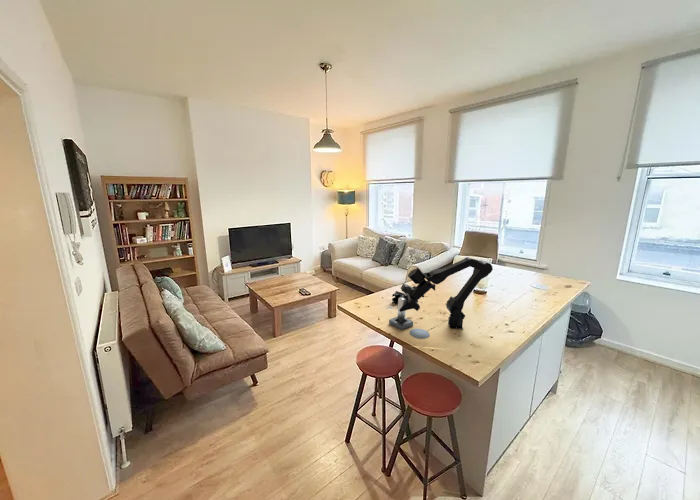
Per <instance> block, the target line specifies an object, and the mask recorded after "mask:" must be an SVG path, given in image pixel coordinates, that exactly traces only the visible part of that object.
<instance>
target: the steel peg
mask: <svg viewBox="0 0 700 500" xmlns="http://www.w3.org/2000/svg"><path fill="white" fill-rule="evenodd" d="M405 302H406V298H403V297H400V298H398V305H397V316H396V317H397V321H398V322H401V323H403V322H405V318H406V310H405V311H402V312H400V311H399V310H400V308H401V307H402V306H403V305H404V304H405Z"/></svg>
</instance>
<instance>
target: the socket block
mask: <svg viewBox="0 0 700 500" xmlns="http://www.w3.org/2000/svg"><path fill="white" fill-rule="evenodd" d="M397 317H398V316H395V317H393V318H390V319H388V324H389V325H390V326H392V327H394V328H396V329H397V330H399V331H403V330H406V329H408V328H411V327H413V326H414V321H413V320H411V319H409V318H407V317H405V322H403V323H401V322H398V321H397Z"/></svg>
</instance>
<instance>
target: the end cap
mask: <svg viewBox="0 0 700 500" xmlns="http://www.w3.org/2000/svg"><path fill="white" fill-rule="evenodd" d="M403 293H404V292H402V291H398V290H396V291H395V292H394V293H392V294H391V295H392V297H393V298H391V300H392V304H394V303H395V305H397V306H398V298H400V297H403ZM404 294H405V293H404Z"/></svg>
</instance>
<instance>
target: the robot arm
mask: <svg viewBox="0 0 700 500" xmlns="http://www.w3.org/2000/svg"><path fill="white" fill-rule="evenodd" d="M470 267H471V268H473V270H472V271H473V272H472V274H471V276H470V277H469V279H467V281H466V282H465V284H463V286H462V288H461V289H460V291H458V292H457V295H455V296H452V295H451V296H450V297H449V298H448V300H447V301H446V304H445V308H446V309H447V310H448V311H449V316H448V319H447V324H448V326H449V328H450V329H456V330H464V327H463V324H464V320H465V318H466V315H465V314H464V312H463V308H464V304H465V301H466V300H467V299H468V298H469V297H470V295H471V294H472V292H473V291H474V290H475V288H476V286H477V285H478V284H479V283H480V281H482V280H483V279H485V278H487V277H488V276H489V275H490V274H491V273H492V271H493V265H492V264H491V263H489V262H488V261H486V260H483V259H480V260H478V259H475V258H472V257H469V256H468V257H464V258H462V259H461V260H458V261H456V262H454V263H452V264H450V265H447V266H446V267H443V268H437V269H434V270H430V271H429V272H423V271H421V269H420V268H419V267H416V268H413V270H410V272H409V273H408V274H407V277H408V278H409V279H410V280H411V281H412V282H413V283H414V284H415V285H413V286H411V285H409V284H406V283H404V282H403V283H402V285H401V287H400V290H401V292H402V293H403V298H406V302H405V304H404V305H403V306H402V307H401V308H400V310H399V311H400V312H402V311H405V312H406V311H409V310H415V311H416V312H418V311H419V310H420V309H421V306H420V304H419V300H420V299H421V298H425V294H426V293H428V292H429V291H430V290H431V289H432V290H433V291H434V292H435V291H436V285H439V284H441V283H443V282H444V281H446V279H447V278H448V277H449V276H452V275H454V274H456V273H459V272H461V271H463V270H465V269H467V268H470ZM404 293H405V294H404Z"/></svg>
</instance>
